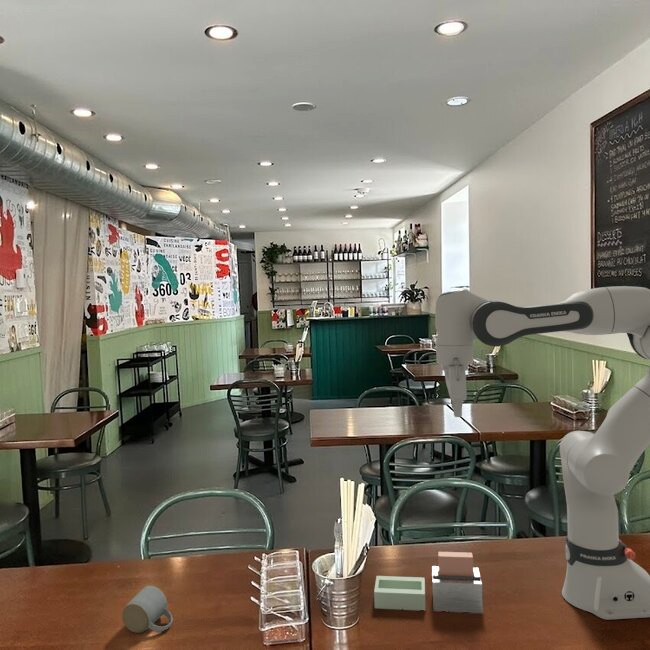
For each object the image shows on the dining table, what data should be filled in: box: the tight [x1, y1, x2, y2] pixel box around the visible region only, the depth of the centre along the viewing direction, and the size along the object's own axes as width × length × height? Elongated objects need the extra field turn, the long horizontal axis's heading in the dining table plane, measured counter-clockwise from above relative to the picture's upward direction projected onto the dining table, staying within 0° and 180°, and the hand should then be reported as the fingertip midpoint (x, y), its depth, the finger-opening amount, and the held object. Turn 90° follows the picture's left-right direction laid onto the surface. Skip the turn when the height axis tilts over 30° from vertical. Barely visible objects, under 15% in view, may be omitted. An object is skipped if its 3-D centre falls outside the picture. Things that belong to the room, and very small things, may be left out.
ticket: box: [437, 551, 474, 577], centre depth 137 cm, size 8×2×10 cm, turn 81°
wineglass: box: [333, 517, 343, 540], centre depth 161 cm, size 6×6×12 cm
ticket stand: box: [373, 575, 427, 612], centre depth 140 cm, size 12×8×4 cm, turn 81°
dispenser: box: [431, 565, 484, 614], centre depth 137 cm, size 11×8×8 cm
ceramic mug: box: [121, 585, 173, 634], centre depth 133 cm, size 11×8×8 cm
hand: (456, 412), depth 140 cm, fingers open, 8 cm apart
